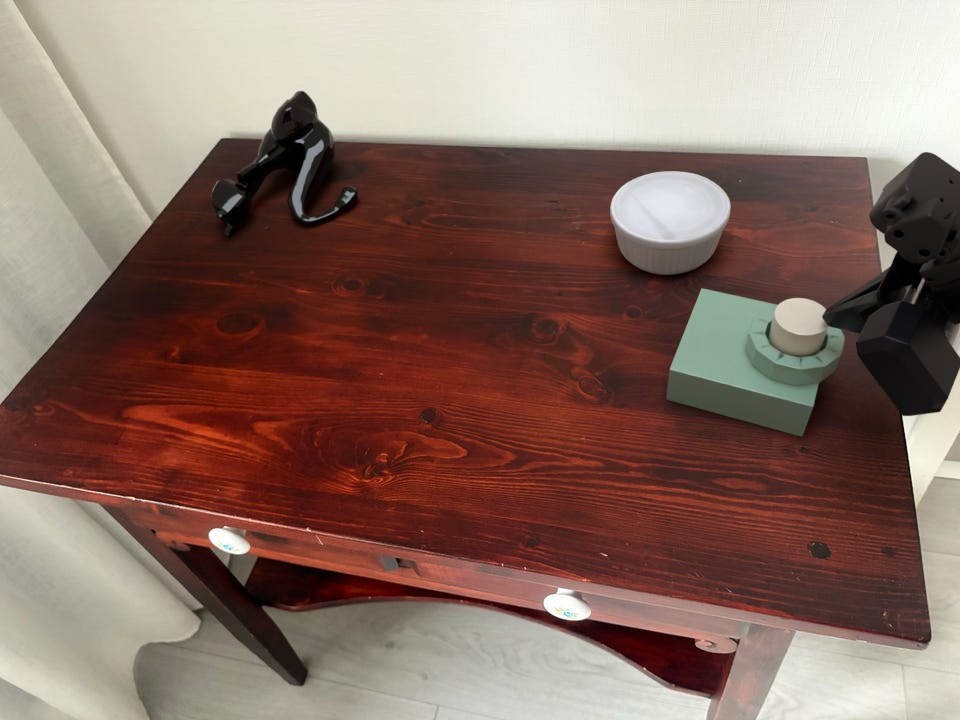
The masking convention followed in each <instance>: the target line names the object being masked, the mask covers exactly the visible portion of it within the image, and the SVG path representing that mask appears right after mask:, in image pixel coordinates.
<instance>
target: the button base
mask: <svg viewBox="0 0 960 720" xmlns="http://www.w3.org/2000/svg"><path fill="white" fill-rule="evenodd" d="M778 305H779V304H776V303H771V302H767V301H762V300H758V299H753V298H750V297H749V298H748V297H744V296H739V295H735V294H730V293H726V292H722V291H721V292H720V291H716V290H711V289H707V288H703V287H701V288H700V291H699V293H698V296H697V298H696V301H695V303H694V306H693V308H692V310H691V314H690V315H689V319H688V322H687V324H686V326H685V329H684V332H683V334H682V337H681V338H680V342H679V344H678V346H677V348H676V352H675V354H674V356H673V358H672V362H671V365H670V367H669V370H668V377H667V387H666V394H665V395H666V396H665V399H666V400H667V401H670V402H674V403H678V404H682V405H685V406H687V407H692V408H696V409H700V410H703V411H705V412H710V413H714V414H717V415H721V416H725V417H728V418H732V419H736V420H739V421H743V422H746V423H750V424H753V425H757V426H761V427H764V428H768V429H770V430H771V429H772V430H776V431H779V432H782V433H786V434H789V435H794V436H797V437H801V438H803V437H804V434H805V431H806V429H807V425H808V423H809V420H810V418H811V415H812V412H813V409H814V406H815V401H816V398H817V393H818V388H819V384H820V383H821V382H823V381H824V380H825V379H826V378H828V377H829V376H830V375H832V374H834V373H835V372H836V371H837V369H838V365H839V363H840V360H841V358H842V354H843V350H844V346H845V341H846V337H845V335H844V333H843V331H842V329H837V328H833V327H830V326H829V327H828V330H827V333H826V336H825V339H824V341H823V344H822V347H821V349H820V350H819V351H818V352H817V353H815V354H813V355H811V356H807V357H795V356H791V355H786V354H783V353H781V352H780V351H778V350H777V349H775V348H774V347H773V345H772V344H771V342H770V340H769V331H770V327H771V323H772V319H773V315H774V311H775V309H776V307H777V306H778Z"/></svg>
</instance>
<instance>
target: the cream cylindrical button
mask: <svg viewBox="0 0 960 720" xmlns="http://www.w3.org/2000/svg"><path fill="white" fill-rule="evenodd" d="M777 305H778V306H777V307H776V309H775V311H774V315H773V319H772V323H771V327H770V331H769V340H770V342H771V344H772V345H773V347H774V348H775V349H777V350H778V351H780V352H781V353H783V354H786V355H791V356H795V357H807V356H811V355H813V354H815V353H817V352H818V351H819V350H820V349H821V347H822V344H823V341H824V339H825V336H826V333H827V330H828V327H829V326H828V325H827V324H826V322H825V321H824V320H823V318H822V316H823V314H824V312H825V310H826V309H827V308H825V306H823V305H822V304H821V303H819V302H817V301H815V300H812V299H810V298H804V297H792V298H788V299H785V300H782V301H781V302H779V304H777Z"/></svg>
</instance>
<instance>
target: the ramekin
mask: <svg viewBox="0 0 960 720" xmlns="http://www.w3.org/2000/svg"><path fill="white" fill-rule="evenodd" d="M731 208H732V207H731V200H730V198H729V196H728V194H727V193H726V191H724V189H723V188H722V187H721V186H720V185H719V184H717V183H715V182H714V181H713V180H710V179H709V178H707V177H705V176H702V175H700V174H697V173H692V172H687V171H672V170H668V171H667V170H665V171H657V172H650V173H646V174H644V175H641V176H637V177H636V178H634V179H632V180H630V181H628V182H626V183H624V184H623V185H622V186H621V187H620V188H619V189H618V190H617V191H616V193H614V195H613V196H612V199H611V202H610V207H609V216H610V221H611V224H612V225H613V227H614V233H615V235H616V240H617V246H618V248H619V251H620V252H621V254H622V256H623V257H624V258H625V259H626V260H627V261H628V262H629V263H630V264H632V265H633V266H634V267H636V268H637V269H640V270H642V271H644V272H647V273H650V274H655V275H660V276H661V275H662V276H672V275H673V276H675V275H679V274H684V273H685V274H686V273H688V272H690V271H693V270H696V269H697V268H699V267H700V266H702V265H704V264H705V263H707V262H708V260H710V258H711V257H712V256H713V255H714V253H715V251H716V250H717V247H718V245H719V242H720V239H721V238H722V234H723V231H724V229H725V228H726V226H727V225H728V222H729V220H730V216H731Z"/></svg>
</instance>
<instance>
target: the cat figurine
mask: <svg viewBox="0 0 960 720" xmlns="http://www.w3.org/2000/svg"><path fill="white" fill-rule="evenodd" d="M313 100H314V99H312V98H311V97H310V95H309V94H308V93H307V92H306V91H304V90H297V91H296V92H295V93H294V94H293V95H292V96H291V98H289V99H286V100H285V101H284V102H283V103H282V104H281V105H280V106H279V107H278V108H277V110H276V111H275V113H274V115H273V117H272V120H271V124H270V128H269V129H268V130H267V131H266V133H264V136H263V138H262V140H261V142H260V145H259V147H258V150H257V151H258V152H257V156H256V157H255V159H254V161H252V162H250V163H248V164H247V165H246V166H244V167H242V168H241V169H240V170H239V171H237V173H236V179H237V182H235V181H234V180H232V179H228V178H222V179H218V180H217V181H216V182H215V184H214V186H213V188H212V190H211V193H210V203H211V205H212V207H213V210H214V212H215V217H216V218H217V219H219V220H220V221H221V222H222V223H223V224H224V225H226V227H225V229H224V231H223V234H224V236H226V237H227V238H229V237H231V236H232V235H233V233H234V230H235V229H236V228H237V227H238V226H239V225H240V224H241V223H242V221H244V219H245V218H246V217H248V215H249V214H250V213H251V211H252V209H253V201H252V199H253V198H254V197H255V196H256V194H257V193H258V191H259V190H260V188H261V186H262V185H263V184H264V182H265V180H266V178H267V177H268V176H270V175H271V174H272V173H273V172H276V171H279V170H283V169H285V170H288V171H290V172H292V171H293V172H294V171H298V173H297V175H296V178H295V180H294V182H293V185H292V187H291V189H290V191H289V193H288V196H287V199H286V201H287V204H288V209H289V210H290V212H291V214H292V216H293V217H294V219H295V220H296V221H297V222H298V223H300V224H302V225H304V226H314V225H317V224H320V223H322V222H325V221H328V220H330V219H332V218H335V217H336V216H338V215H339V214H341V213H345V212H349V211H350V210H351V209H352V208H353V206H355V205H356V204H357V202H358V201H359V193H358V189H357V187H355V186H353V185H350V184H349V185H346V186H344V187H343V188H342V190H341V193H340V195H339V196H338V197H337V198H336V200H335V202H334V205H333V207H332V208H330V209H328V210H326V211H324V212H321V213H319V214H316V215H308V214H307V213H306V209H307V206H308V204H309V202H310V200H311V199H312V197H313V196H314V195H315V194H316V192H317V190H318V189H319V187H320V186H321V185H322V183H323V180H325V178H326V176H328V173H329V172H330V170H331V168H332V166H333V164H334V160H335V154H336V146H335V139H334V136H333V134H332V133H333V132H332V131H331V130H330V128H329V127H328V126H327V125H326V124H325V123H324V122H323V121H322V120H320V118H319V113H318V109H317V105H316V103H315V102H314V101H313Z"/></svg>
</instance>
